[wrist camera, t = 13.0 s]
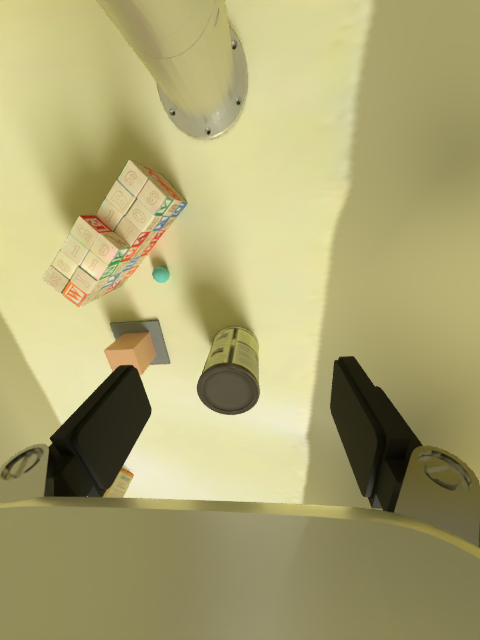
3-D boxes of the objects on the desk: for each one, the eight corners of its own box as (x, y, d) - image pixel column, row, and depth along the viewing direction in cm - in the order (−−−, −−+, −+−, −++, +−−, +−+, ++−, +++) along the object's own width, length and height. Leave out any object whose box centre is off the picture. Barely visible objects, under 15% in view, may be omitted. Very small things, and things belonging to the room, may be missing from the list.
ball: (168, 279, 40) (164, 288, 42) (173, 267, 42) (169, 276, 44) (151, 272, 39) (148, 281, 41) (157, 260, 41) (154, 270, 43)
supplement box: (124, 485, 75) (98, 535, 63) (111, 478, 74) (83, 528, 62) (134, 474, 72) (110, 525, 60) (121, 468, 71) (94, 518, 59)
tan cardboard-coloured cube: (124, 333, 49) (103, 350, 42) (149, 332, 48) (133, 349, 42) (132, 356, 51) (114, 375, 45) (156, 355, 51) (142, 374, 44)
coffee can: (242, 373, 51) (236, 424, 39) (204, 350, 50) (185, 396, 37) (269, 342, 47) (272, 388, 35) (229, 316, 46) (217, 354, 33)
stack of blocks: (159, 172, 36) (115, 151, 25) (188, 202, 38) (159, 196, 26) (96, 264, 43) (39, 279, 32) (122, 286, 45) (77, 309, 34)
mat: (111, 323, 48) (109, 324, 48) (158, 320, 47) (157, 321, 47) (126, 364, 53) (125, 365, 52) (170, 362, 52) (169, 363, 51)
